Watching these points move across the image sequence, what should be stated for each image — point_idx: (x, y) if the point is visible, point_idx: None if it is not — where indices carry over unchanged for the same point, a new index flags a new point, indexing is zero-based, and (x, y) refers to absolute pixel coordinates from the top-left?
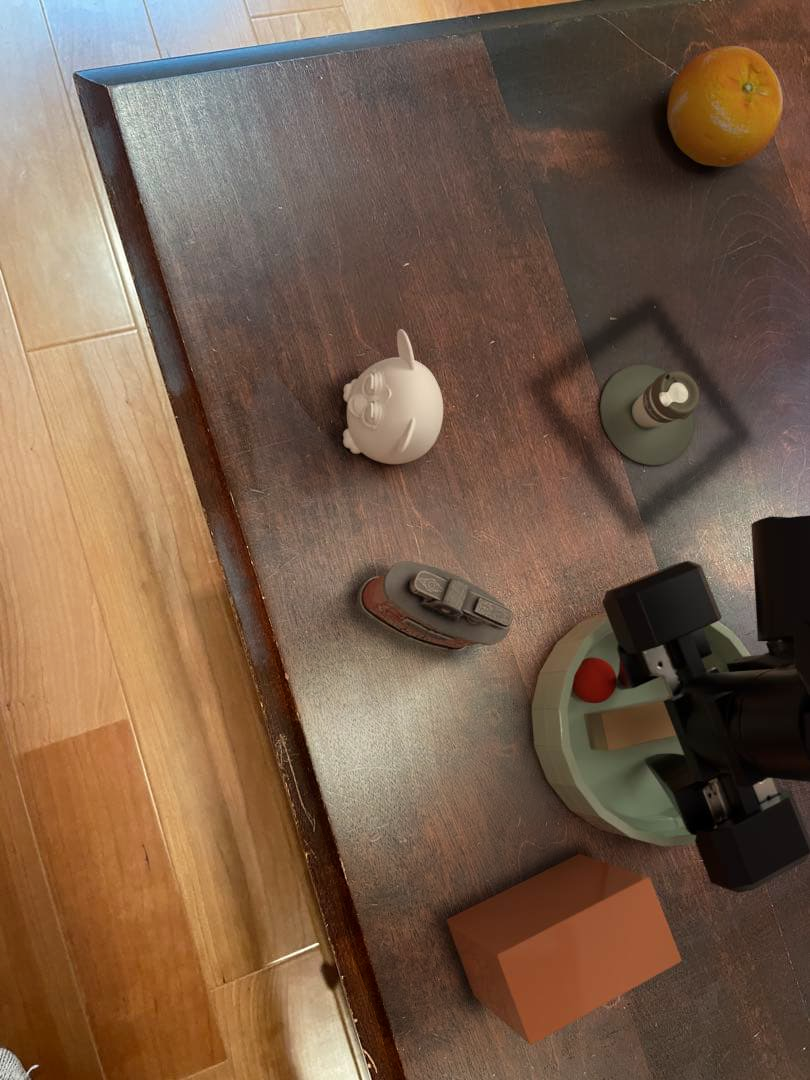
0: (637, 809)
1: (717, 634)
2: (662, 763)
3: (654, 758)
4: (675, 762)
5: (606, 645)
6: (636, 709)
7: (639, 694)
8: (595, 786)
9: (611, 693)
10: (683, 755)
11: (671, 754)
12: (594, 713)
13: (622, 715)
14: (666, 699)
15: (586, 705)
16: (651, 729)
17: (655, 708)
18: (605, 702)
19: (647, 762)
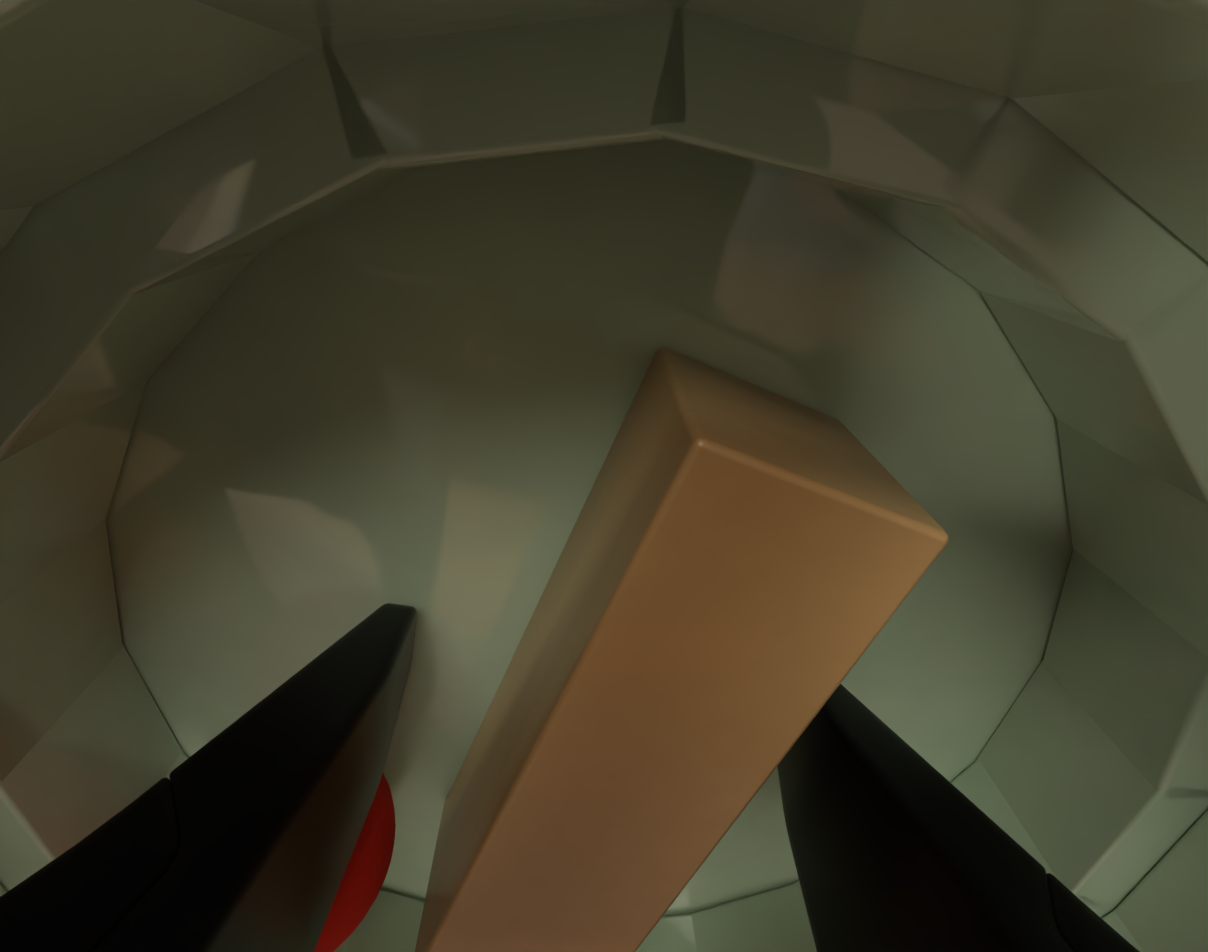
0: None
1: (46, 66)
2: (829, 876)
3: (791, 749)
4: (881, 924)
5: (191, 592)
6: (486, 871)
7: (506, 577)
8: (707, 870)
9: (338, 908)
10: (895, 812)
11: (839, 755)
12: (429, 882)
13: (473, 925)
14: (558, 666)
15: (418, 781)
16: (637, 860)
17: (549, 791)
18: (450, 719)
19: (780, 773)
